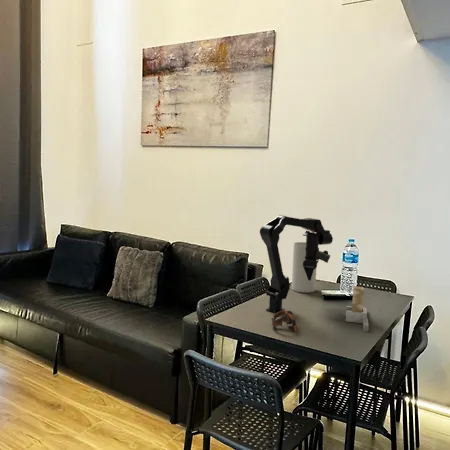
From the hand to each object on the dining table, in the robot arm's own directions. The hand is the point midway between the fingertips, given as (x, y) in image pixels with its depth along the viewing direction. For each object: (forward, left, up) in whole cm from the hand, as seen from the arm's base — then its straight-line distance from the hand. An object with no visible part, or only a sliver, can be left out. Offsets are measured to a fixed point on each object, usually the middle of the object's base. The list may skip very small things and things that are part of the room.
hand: (310, 278), depth 206 cm
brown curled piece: (-36, -6, -13) cm, 39 cm away
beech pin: (-6, -25, -13) cm, 29 cm away
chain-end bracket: (-6, -24, -13) cm, 28 cm away
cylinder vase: (+24, +14, -13) cm, 31 cm away
